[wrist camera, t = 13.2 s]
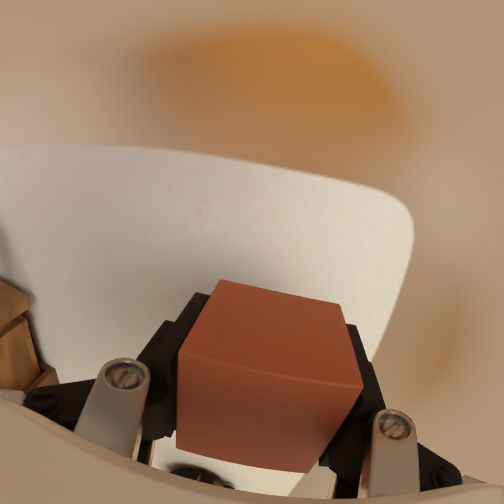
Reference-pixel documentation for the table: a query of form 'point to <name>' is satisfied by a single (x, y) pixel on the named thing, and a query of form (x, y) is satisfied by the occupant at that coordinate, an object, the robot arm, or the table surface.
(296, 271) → the table surface
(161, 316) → the table surface
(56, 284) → the table surface
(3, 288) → the drawer
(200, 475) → the tape measure
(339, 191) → the table surface
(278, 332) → the block
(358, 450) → the robot arm
